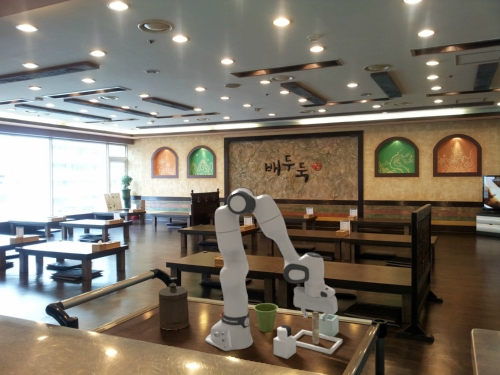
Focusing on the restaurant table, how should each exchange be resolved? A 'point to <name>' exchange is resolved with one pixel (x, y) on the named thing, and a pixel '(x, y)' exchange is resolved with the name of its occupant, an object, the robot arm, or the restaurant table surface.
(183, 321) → the wooden container
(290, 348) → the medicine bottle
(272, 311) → the plant pot
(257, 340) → the restaurant table surface
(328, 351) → the melamine tray
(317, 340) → the beech dowel
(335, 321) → the celadon cup
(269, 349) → the restaurant table surface
